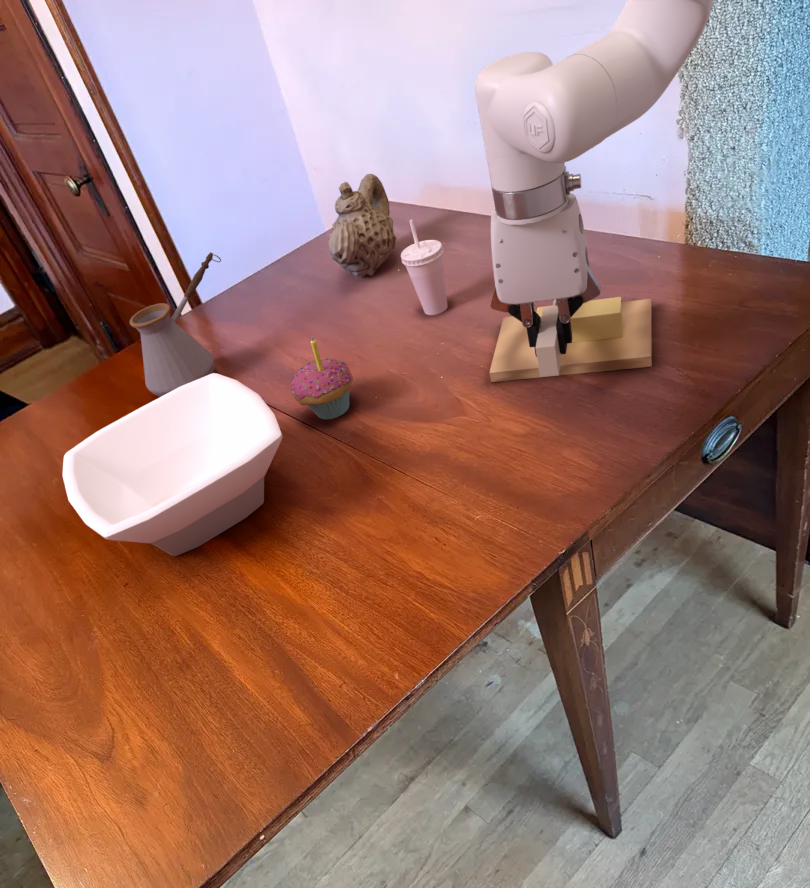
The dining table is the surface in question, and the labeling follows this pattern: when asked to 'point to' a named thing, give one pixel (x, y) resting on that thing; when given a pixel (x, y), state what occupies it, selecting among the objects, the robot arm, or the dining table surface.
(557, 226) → the robot arm
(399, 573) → the dining table surface
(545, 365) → the knife
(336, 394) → the cupcake
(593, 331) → the butter
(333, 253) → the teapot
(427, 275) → the smoothie
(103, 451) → the bowl
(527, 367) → the board
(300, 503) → the dining table surface
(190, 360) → the coffee pot
